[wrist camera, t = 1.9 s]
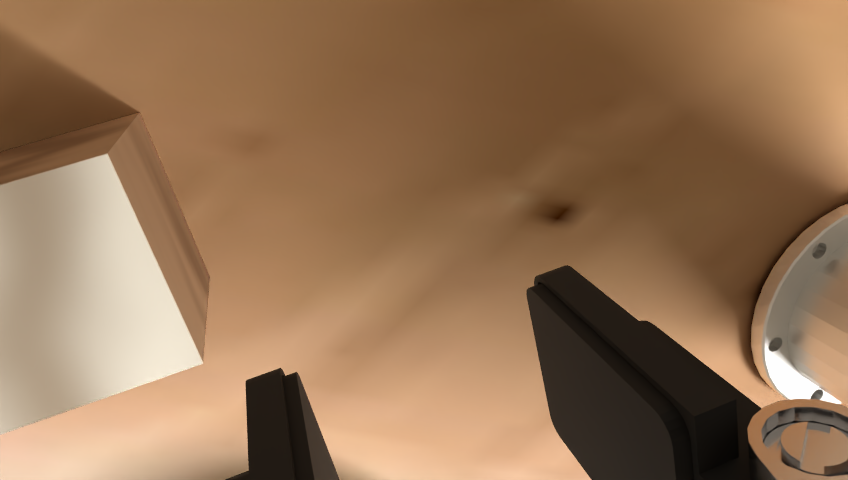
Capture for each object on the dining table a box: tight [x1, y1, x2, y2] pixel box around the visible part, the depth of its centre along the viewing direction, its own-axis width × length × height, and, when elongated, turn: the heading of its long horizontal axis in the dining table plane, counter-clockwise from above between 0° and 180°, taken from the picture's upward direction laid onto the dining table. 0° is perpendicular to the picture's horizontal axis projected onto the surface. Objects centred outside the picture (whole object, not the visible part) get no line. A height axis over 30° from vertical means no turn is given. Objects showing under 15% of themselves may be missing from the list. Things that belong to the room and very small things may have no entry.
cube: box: [0, 112, 210, 435], centre depth 21 cm, size 7×7×7 cm
